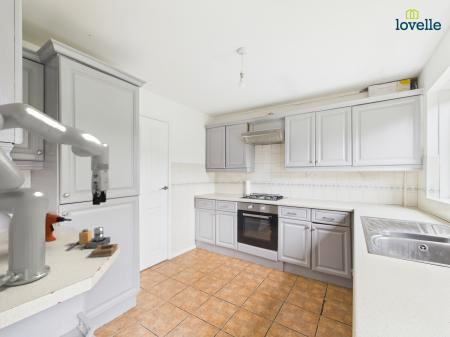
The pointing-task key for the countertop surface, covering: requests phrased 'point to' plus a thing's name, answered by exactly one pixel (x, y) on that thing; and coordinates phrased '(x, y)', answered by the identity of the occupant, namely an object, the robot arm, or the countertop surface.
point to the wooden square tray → (104, 250)
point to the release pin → (84, 237)
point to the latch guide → (76, 245)
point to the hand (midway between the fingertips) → (99, 203)
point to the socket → (97, 243)
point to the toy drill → (49, 227)
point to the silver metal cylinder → (98, 234)
